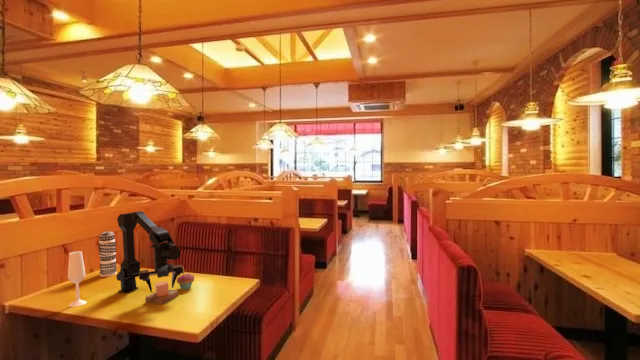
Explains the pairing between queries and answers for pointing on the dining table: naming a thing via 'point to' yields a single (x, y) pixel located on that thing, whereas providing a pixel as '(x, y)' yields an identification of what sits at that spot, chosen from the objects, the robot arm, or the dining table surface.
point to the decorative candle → (107, 254)
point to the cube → (162, 288)
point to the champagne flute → (76, 274)
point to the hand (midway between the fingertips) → (162, 289)
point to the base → (161, 297)
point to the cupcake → (185, 280)
